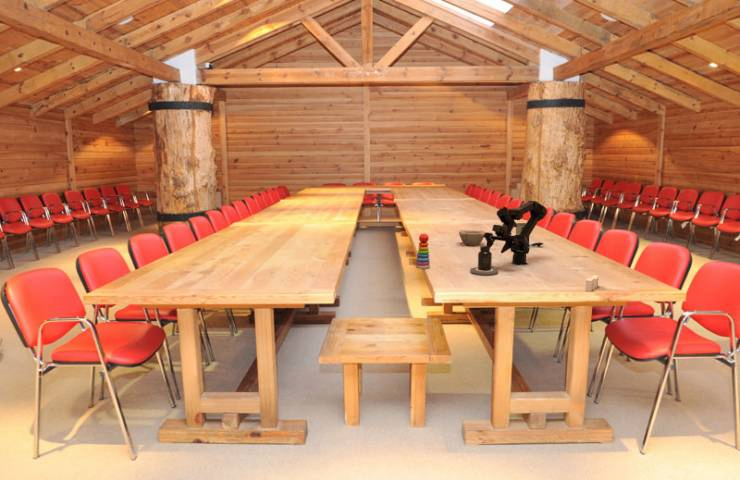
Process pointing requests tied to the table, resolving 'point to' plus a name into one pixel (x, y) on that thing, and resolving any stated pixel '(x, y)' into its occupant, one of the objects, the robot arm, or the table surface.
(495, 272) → the hub pad
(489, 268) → the supplement bottle
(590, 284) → the napkin holder
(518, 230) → the milk frother
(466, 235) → the mortar
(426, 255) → the stacking toy
